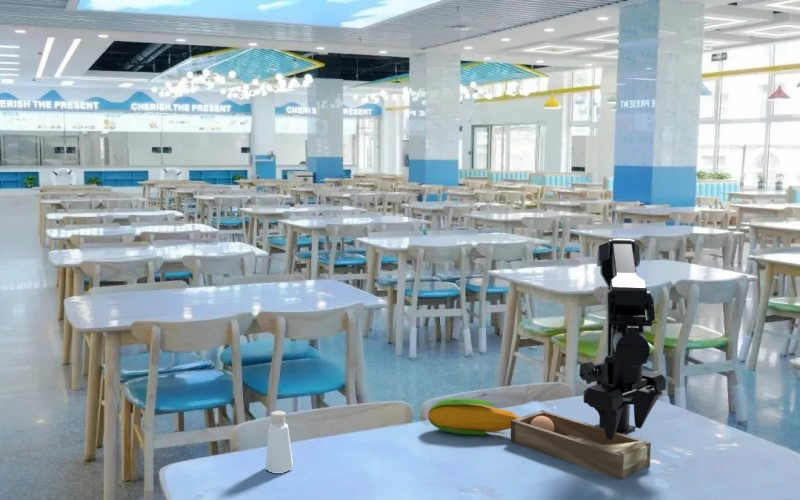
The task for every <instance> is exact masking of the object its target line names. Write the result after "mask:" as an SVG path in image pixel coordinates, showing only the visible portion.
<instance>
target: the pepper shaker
mask: <svg viewBox="0 0 800 500" xmlns="http://www.w3.org/2000/svg"><path fill="white" fill-rule="evenodd" d="M269 415H270V421H271V422H270V424H269V425H268V433H267V443H266V444H267V445H266V458H265V460H266V461H265V470H266V469H267V470H269V471H271V472H284V471H287V470H289V469H291V468H292V467H293V468H294V462H293V453H292V446H291V439H290V431H289V425H288V423H286V412H285V411H283V410H274V411H271V412H270V414H269Z"/></svg>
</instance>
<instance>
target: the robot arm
mask: <svg viewBox="0 0 800 500" xmlns="http://www.w3.org/2000/svg"><path fill="white" fill-rule="evenodd" d="M596 253H597V254H596V255H597V256H596V257H597V258H596V261H597V262H596V264H597V265H596V266H597V267H599V268H600V269H599V271H600V272H599V273H600V276H601V277H602V280H603V281H604V283H605V284H606V286H607V289H606V301H605V304H606V306H605V307H606V355H605V357H604V359H603V360H602V362H598V363H594V362H593V361H589V362H582V363H580V364H579V377H580V379H581V380H582V381H585V384H587V385H588V384H592V383H594V385H591V386H589V387H588V388H586V389H585V390H584V391H583V393H582V394H583V396H582V397H583V403H584V404H586V405H588V406H589V407H591V408H593V409H594V410H595V411H596V412H597V413H598V416H599V418H598V419H599V423H598V424H595V425H594V426H597V427H601V428H604V430H605V433H606V436H607V439H610V440H613V439H614V436H615V433H616V432H618V433H621V434H624V435H626V434H627V433H629V432H632V431H634V430H636V428H637V429H642V427H643V425H644V424H645V421H646V420H647V418H648V417H649V415H650V413H651V411H652V409H653V408H654V406H655V404H656V402H657V401H658V399H659V397H660V396H662V395H663V391H665V390H667V379H666V378H665V376H664V375H663V374H661V373H658V372H653V371H649V370H643V365H646V364H648V358H649V356H650V351H651V348H650V344H649V342H648V340H647V337H646V335H645V333H644V327H653V322H654V321H655V320H656V319H655V318H656V314H655V302H654V301H655V300H654V297H653V295H652V292H651V291H648V288H647V284H646V281H645V280H644V279H642V278H641V277H639V276H638V273H637V268H638V267H639V266H640V263H641V246H640V245H639V244H636V243H635V240H634V239H632V238H612V239H608V242H605V243H601V244H600V245H598V247H597V252H596ZM631 405H633V417H634V418H633V419H634V425H635V426H634V425H631V424H630V411H631V410H630V408H631Z"/></svg>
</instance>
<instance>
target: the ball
mask: <svg viewBox="0 0 800 500" xmlns="http://www.w3.org/2000/svg"><path fill="white" fill-rule="evenodd" d="M530 425H533V426H536V427H539V428H542V429H545V430H549V431H552V432H554V424H553V422H552V421H551V420H550V419H549V418H548V417H545V416H538V417H536V418H534V419H533V420H532V421H531V423H530Z"/></svg>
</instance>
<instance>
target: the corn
mask: <svg viewBox="0 0 800 500" xmlns="http://www.w3.org/2000/svg"><path fill="white" fill-rule="evenodd" d="M491 406H496V403H495V402H490V401H487V400H483V399H475V398H474V399H473V398H446V399H443V400H440V401H438V402H437V403H434V404H433V405H432V407H430V409H429V410H428V412H427V419H428V421H429V423H430V424H432V426H434V427H435V428H437V429H438V430H440V431H443V432H446V433H449V434H455V435H456V434H459V435H469V436H470V435H471V436H489V435H490V433H491V432H492V433H493V432H501V431H506V430H511V420H514V419H517V418H520V416H518V415H516V414H515V413H513V412H512V411H508V410H504V409H501V408H496V407H491Z"/></svg>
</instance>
